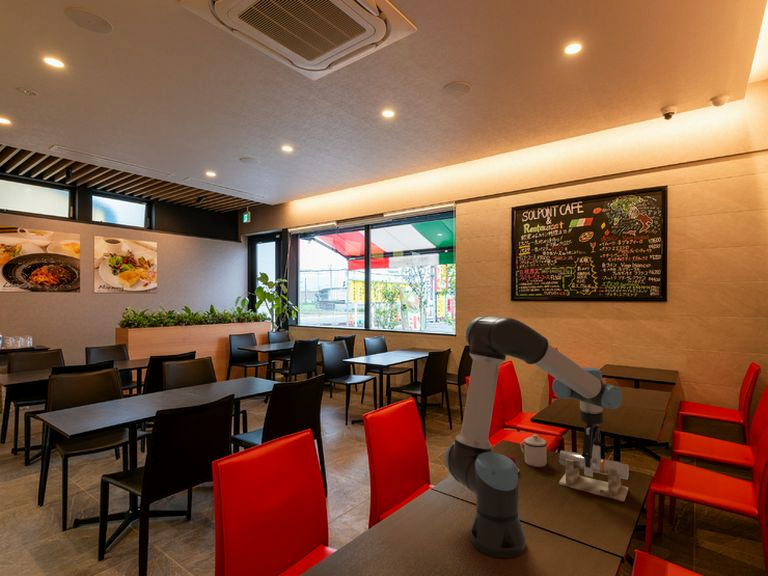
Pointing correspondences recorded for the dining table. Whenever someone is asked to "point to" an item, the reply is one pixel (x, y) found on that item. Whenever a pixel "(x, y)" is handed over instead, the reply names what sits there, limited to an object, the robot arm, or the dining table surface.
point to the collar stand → (594, 482)
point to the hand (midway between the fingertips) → (592, 469)
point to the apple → (511, 459)
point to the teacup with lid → (535, 451)
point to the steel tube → (596, 464)
